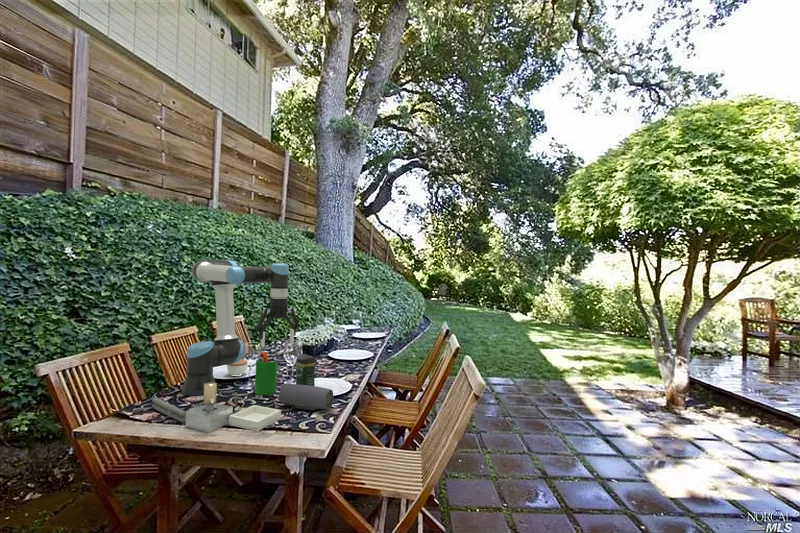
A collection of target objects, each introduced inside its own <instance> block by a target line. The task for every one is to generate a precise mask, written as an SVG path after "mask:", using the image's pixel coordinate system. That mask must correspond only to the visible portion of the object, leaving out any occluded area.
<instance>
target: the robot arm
mask: <svg viewBox="0 0 800 533" xmlns="http://www.w3.org/2000/svg"><path fill="white" fill-rule="evenodd" d="M289 271H290V270H289V264H287V263H278V262H277V263H274V262H273V263H272V264H271V267H270V266H239V264H238V263H237V262H236V261H234V260H230V259H201V260H199V261H197V262H196V263H194V264H193V266H192V268H191V275H192V277H193V278H194V279H195V280H196V281H198V282H200V283H211V287H212V289H214V290H215V291H214V294H215V298H214V299H215V314H216V315H215V316H216V317H215V318H216V319H215V320H216V337H215V338H214V340H213V341H212V340H211V341H210V340H208V341H207V340H205V341H199V342H198V341H197V342H195V343H191V344H190V345H189V346H188V348H187V350H186V351H187V352H186V376H185V380H184V383H183V386H182V387H181V394H183V395H185V396H194V397H196V396H204V384H205V383H209V382H215V383H216V380H215V377H214V368H217V367H223V366H227V365H228V364H229V365H231V364H233V363H237V362H239V361H240V360H241V359H242V358H243V356H244V352H245V346H244V343H243V342H242V340H240V339H239V336H238V335H237V334H236V327H235V324H236V321H235V320H236V319H235V305H234V304H235V302H234V288H235V287H236V286H237V285H243V284H270V294H269V295H270V296H269V297H270V300H269V308H263V309H262V313H261V315H260V317H259V319H258V321H257V323H256V325H255V326H254V330H255V331H257V332H258V339H259V340H260V347H262V348H265V345H266V342H265V340H266V331H265V330H266V329H267V327H268V326H269V325H270V323H271V322H272V321H274V320H275V319H276V320H279V319H284V320H285V321H286V323H287V324H288V326H290V328H289V344H291V345H294V343H295V342H294V341H295V337H296V334H297V330H298V328H300V327H301V325H300V323H299V320H298V318H297V316H296V314H295V308H294V307H289V308H288V304H289V303H288V302H289V301H288V295H289V275H290V272H289ZM288 313H289V315H287V314H288ZM268 314H269V315H268ZM267 316H268V317H267ZM289 316H290V318H291V319H290V318H289ZM266 318H267V319H266Z"/></svg>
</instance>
